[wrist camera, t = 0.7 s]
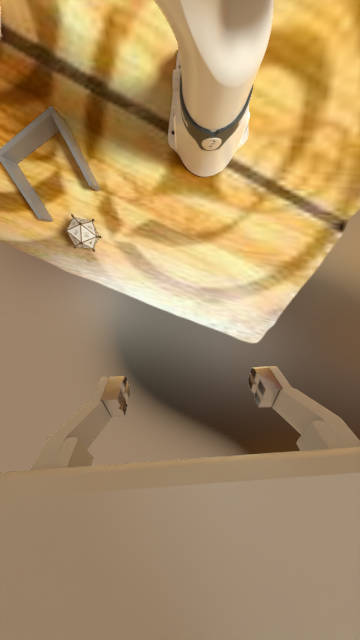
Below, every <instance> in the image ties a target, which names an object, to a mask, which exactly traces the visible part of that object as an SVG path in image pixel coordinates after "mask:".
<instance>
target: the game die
mask: <svg viewBox="0 0 360 640" xmlns="http://www.w3.org/2000/svg"><path fill="white" fill-rule="evenodd" d="M71 216H72V217H73V219H72V221H71V222H70V224H69V226H68V228H67V230H65V229H64V230H63V231H64V232H67V233H68V235H69V236H70V238H71V240H72V242H73V243H74V245H75V246H74V249H75V248H76V247H82V248H88V249H93V251H94V252H95V250H94V247H95V244H96V242H97V240H98V238H102V237H101V236H99V235H98V233H97V231H96V228H95V226H94V224H93V221H94V219H92V221H89V220H84V219H80V218H75V217H74V216H73V214H71Z"/></svg>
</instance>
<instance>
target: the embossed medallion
mask: <svg viewBox="0 0 360 640" xmlns="http://www.w3.org/2000/svg"><path fill="white" fill-rule="evenodd" d="M2 36H3V35H2V33H1V7H0V37H1V38H2ZM0 40H1V39H0Z"/></svg>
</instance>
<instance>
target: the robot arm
mask: <svg viewBox="0 0 360 640" xmlns="http://www.w3.org/2000/svg"><path fill="white" fill-rule="evenodd" d="M154 1H155V3H156V4H157V5H158V7H159V8H160V10H161V12H162V13H163V15H164V16H165V18H166V20H167V22H168V23H169V25H170V27H171V29H172V31H173V33H174V35H175V38H176V40H177V43H178V48H179V49H178V53H177V61H176V70H175V69H174V70H173V77H172V88H173V96H172V104H171V113H170V122H169V130H168V144H169V146H170V147H171V148H172V149H173V150H174V151H175V152H177V153H178V155H179V156H180V158H181V160H182V162H183V164H184V165H185V167H186V168H187V169H188V170H189V171H190V172H192V173H193V174H195V175H198V176H202V177H208V176H212V175H215V174H217V173H219V172H220V171H221V170H223V169H224V168H225V167H226V166H227V164H228V163H229V162H230V160H231V158H232V157H233V155H234V153H235V152H236V151H237V150H238V149H239V148H240V147H242V146H243V145H244V144H245V142H246V141H247V138H248V120H249V117H250V112H249V101H250V97H251V93H252V89H253V83H254V80H255V78H256V75H257V72H258V70H259V67H260V64H261V62H262V59H263V57H264V54H265V51H266V48H267V45H268V41H269V37H270V32H271V27H272V20H273V7H274V1H273V0H154ZM172 132H174V135H173V134H172ZM250 372H251V375H249V378H248V384H249V387H250V389H251V391H252V392H253V393H255V395H254V398H255V401H256V403H257V405H258V407H272V408H273V409H274V410H275V411H277V412H278V413H279V414H280V415H281V416H282V417H283V418H284V419H285V420H286V421H287V422H288V423H289V424H290V425H291V426H293V427H294V428H295V429H296V430H297V431H298V432H299V433H300V434H301V435H302V436H301V437H300V438H299V440H298V441H297V445H298V447H299V449H300V451H294V452H280V453H266V454H251V455H237V456H223V457H208V458H195V459H181V460H166V461H152V462H138V463H124V464H109V465H96V466H91V465H92V462H93V458H94V457H93V455H92V454H91V453H90V452H89V451H88V448H89V447H90V445H91V444H92V443H93V441H94V440H95V439H96V438H97V436H98V435H99V434H100V432H101V431H102V430H103V429H104V427H105V426H106V425H107V423H108V422H109V421H110V419H111V418H112V417H122V416H125V414H126V410H127V403H126V401H127V400H128V399H129V396H130V385H129V383H127V380H128V379H127V377H126V376H119V377H118V376H116V377H102V378H101V379H100V381H99V383H98V385H97V388H96V390H95V392H94V394H93V397H92V399H91V401H90V402H87V403H86V404H85V405H84V406H83V407H82V408H81V409H79V410H78V411H77V412H76V413H75V414H74V415H73V416H72V417H71V418H70V419H69V420H67V421H66V422H65V423H64V424H63V425H62V426H61V427H60V428H59V429H58V430H57V431H55V432H54V433H53V434H52V435H51V436H50V437H49V438H48V439H47V441H46V443H45V445H44V447H43V448H42V450H41V452H40V454H39V455H38V457H37V459H36V461H35V463H34V464H33V466H32V468H31V470H24V471H11V472H0V640H360V441H359V439H357V437H356V436H355V435H354V433H353V432H352V431H351V430H350V429H349V427H348V426H347V425H346V424H345V423H344V421H343V420H342V419H341V418H340V417H338V416H336V415H335V414H334V413H332V412H330V411H329V410H327V409H326V408H324V407H323V406H321V405H320V404H318V403H317V402H315V401H314V400H312V399H310V398H309V397H307V396H306V395H304V394H303V393H301V392H300V391H298V390H297V389H295V388H292V387H291V386H290V384H289V383H288V382H287V380H286V379H285V377H284V376H283V375H282V373H281V372H280V370H279V369H278V368H277V367H276V366H270V367H255V368H251V370H250Z"/></svg>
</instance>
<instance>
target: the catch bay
mask: <svg viewBox="0 0 360 640" xmlns="http://www.w3.org/2000/svg"><path fill="white" fill-rule="evenodd" d="M59 131H60V132H61V134H62V136H63V138H64V139H65V141H66V143H67V145H68V147H69V149H70V151H71V153H72V154H73V156H74V158H75V160H76V162H77V164H78V166H79V167H80V169H81V171H82V173H83V175H84V177H85V179H86V181H87V182H88V184H89V186H90V187H92V188H93V189H95V190H96V191H99V190H100V187H99V185H98V183H97V181H96V180H95V178H94V176H93V174H92V172H91V170H90V168H89V166H88V164H87V162H86V160H85V158H84V156H83V154H82V153H81V151H80V149H79V147H78V145H77V143H76V141H75V139H74V137H73V135H72V133H71V131H70V129H69V127H68V125H67V124H66V122H65V120H64V119H63V117H62V116H61V115H60V114H59V113H58V112H57V111H56V110H55V109H54V108H53V107H52V106H50V107H49V108H48V109H47V110H46V111H44V112H43V113H42V114H41V115H40V116H38V117H37V118H36V119H35V120H34V121H32V122H31V123H30V124H29V125H28V126H27V127H25V128H24V129H23V130H22V131H21V132H19V133H18V134H17V135H16V136H15V137H13V138H12V139H11V140H10V141H9V142H8V143H6V144H5V145H4V146H3V147H2V148H0V162H1V163H2V165H3V166H4V168H5V169H6V171H7V172H8V174H9V175H10V177H11V178H12V180H13V181H14V183H15V184H16V186H17V187H18V189H19V190H20V192H21V193H22V195H23V196H24V198H25V199H26V201H27V202H28V204H29V205H30V207H31V208H32V210H33V211H34V213H35V214H36V216H37V217H38V219H40V220H44V221H49V222H51V221H53V219H52V218H51V216H50V214H49V213H48V211H47V210H46V208H45V207H44V205H43V203H42V202H41V200H40V199H39V197H38V196H37V194H36V193H35V191H34V189H33V188H32V186H31V185H30V183H29V182H28V180H27V179H26V177H25V175H24V174H23V172H22V171H21V169H20V168H19V166H18V163H19V162H21V161H22V160H23V159H24V158H26V157H27V156H28V155H29V154H31V153H32V152H33V151H34V150H36V149H37V148H38V147H40V146H41V145H42V144H43V143H45V142H46V141H47V140H48V139H50V138H51V137H52V136H53V135H55V134H56V133H57V132H59Z"/></svg>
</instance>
